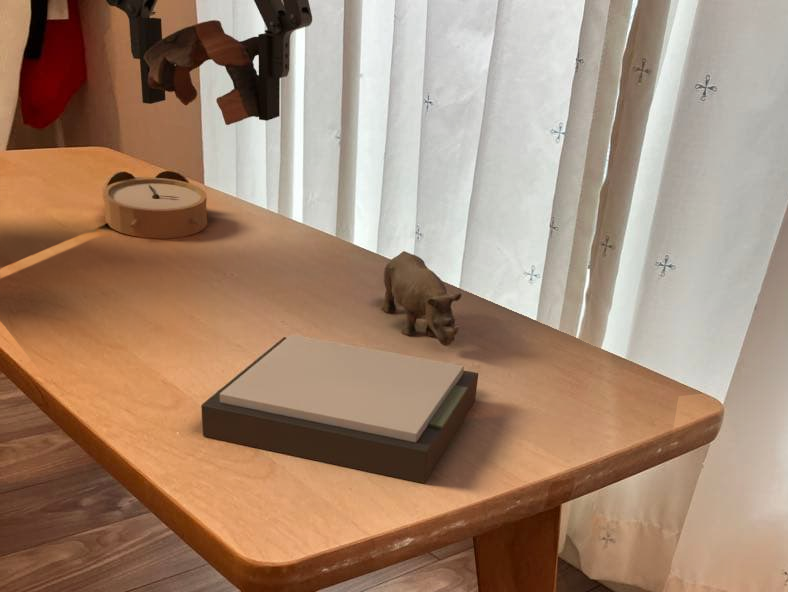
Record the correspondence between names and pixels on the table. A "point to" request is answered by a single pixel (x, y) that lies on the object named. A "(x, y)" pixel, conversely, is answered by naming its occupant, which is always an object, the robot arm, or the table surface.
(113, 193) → the alarm clock
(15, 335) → the table surface
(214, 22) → the brown jagged curved piece
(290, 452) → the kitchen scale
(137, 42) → the robot arm
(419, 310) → the rhino figurine
